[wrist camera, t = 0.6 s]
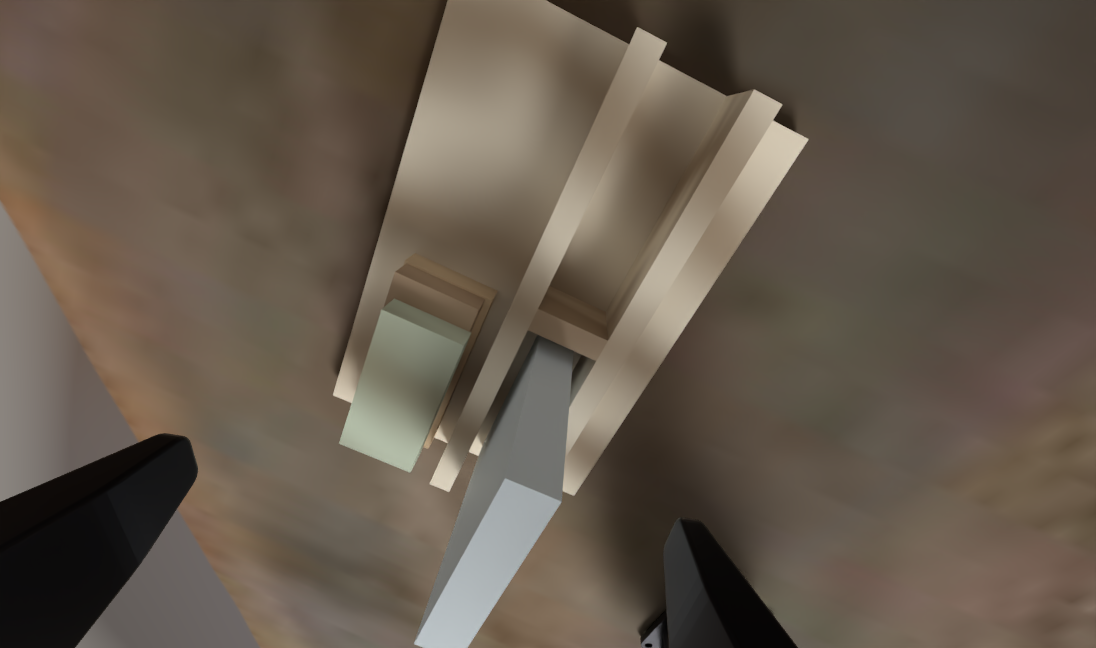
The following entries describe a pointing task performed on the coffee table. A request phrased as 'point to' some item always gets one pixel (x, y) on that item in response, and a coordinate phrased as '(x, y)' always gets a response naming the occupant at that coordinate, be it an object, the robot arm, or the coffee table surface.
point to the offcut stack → (415, 360)
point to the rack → (568, 208)
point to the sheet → (504, 499)
